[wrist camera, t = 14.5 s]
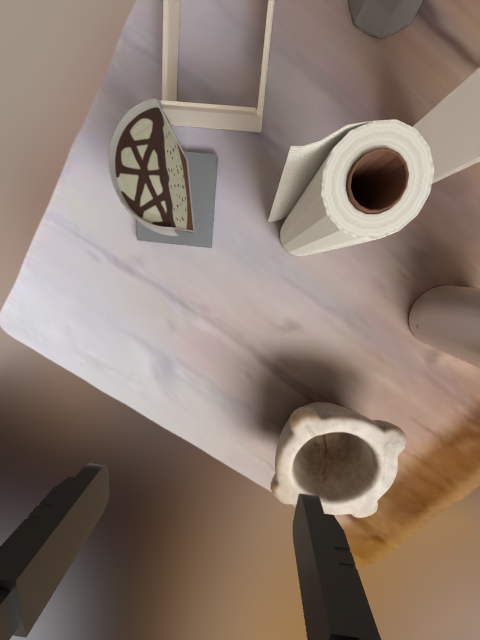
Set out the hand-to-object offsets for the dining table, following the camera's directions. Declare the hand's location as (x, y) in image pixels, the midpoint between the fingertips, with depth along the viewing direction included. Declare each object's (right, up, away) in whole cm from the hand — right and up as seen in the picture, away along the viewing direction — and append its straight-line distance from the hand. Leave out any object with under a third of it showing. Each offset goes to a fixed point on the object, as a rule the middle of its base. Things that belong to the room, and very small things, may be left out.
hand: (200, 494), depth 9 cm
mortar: (+16, -12, +31) cm, 37 cm away
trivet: (-8, +24, +24) cm, 35 cm away
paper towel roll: (+10, +20, +24) cm, 33 cm away
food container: (-8, +24, +23) cm, 34 cm away
